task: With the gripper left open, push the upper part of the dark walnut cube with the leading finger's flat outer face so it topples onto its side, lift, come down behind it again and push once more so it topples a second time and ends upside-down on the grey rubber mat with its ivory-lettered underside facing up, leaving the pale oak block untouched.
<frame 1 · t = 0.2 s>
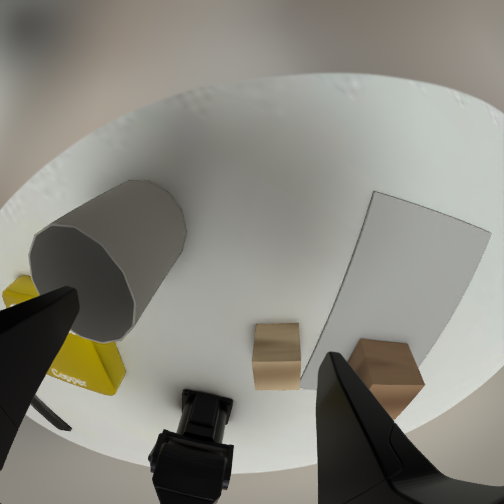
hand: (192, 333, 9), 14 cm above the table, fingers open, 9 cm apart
oak block: (277, 338, 28), on the table
element tile: (70, 325, 31), on the table
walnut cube: (373, 360, 28), resting on rubber mat
cup: (141, 226, 24), on the table
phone: (45, 407, 47), on the table
rubber mat: (394, 320, 26), on the table
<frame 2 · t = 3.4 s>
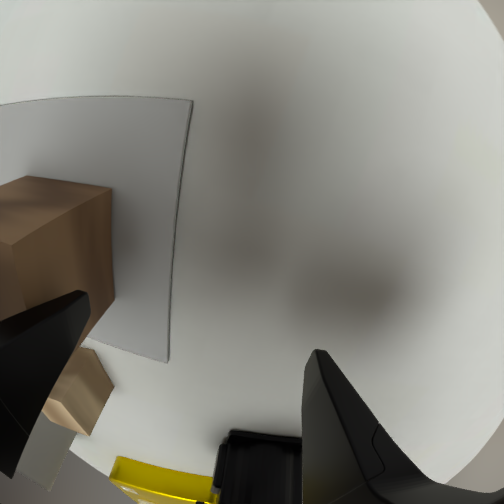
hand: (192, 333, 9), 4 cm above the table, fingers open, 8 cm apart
oak block: (84, 364, 18), on the table
element tile: (178, 481, 30), on the table
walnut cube: (65, 237, 13), resting on rubber mat, touching gripper
cup: (50, 409, 24), on the table
rubber mat: (10, 218, 13), on the table
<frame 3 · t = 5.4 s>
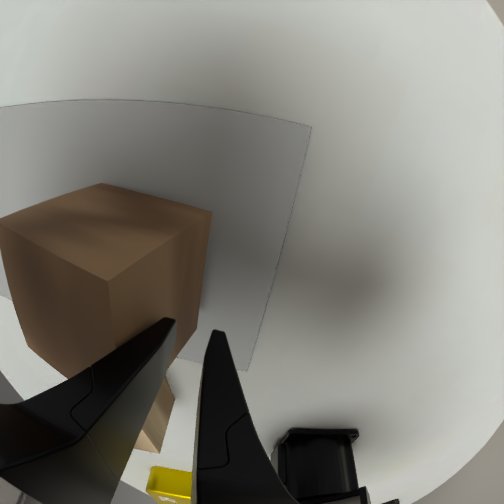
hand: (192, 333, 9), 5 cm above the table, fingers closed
oak block: (143, 380, 18), on the table
element tile: (212, 486, 30), on the table
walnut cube: (146, 256, 13), point 1 cm above the table, tilted 13°, touching gripper, rubber mat
rubber mat: (67, 229, 14), on the table
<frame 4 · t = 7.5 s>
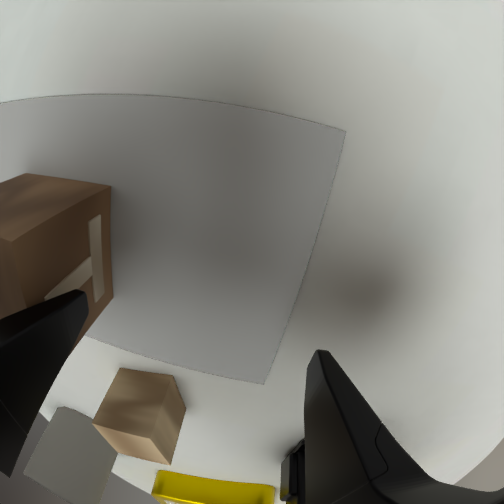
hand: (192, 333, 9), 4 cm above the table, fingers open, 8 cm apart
oak block: (153, 389, 18), on the table
element tile: (218, 489, 30), on the table
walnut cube: (75, 278, 10), point 3 cm above the table, tilted 91°, touching gripper, rubber mat
cup: (88, 427, 24), on the table
rubber mat: (75, 234, 13), on the table
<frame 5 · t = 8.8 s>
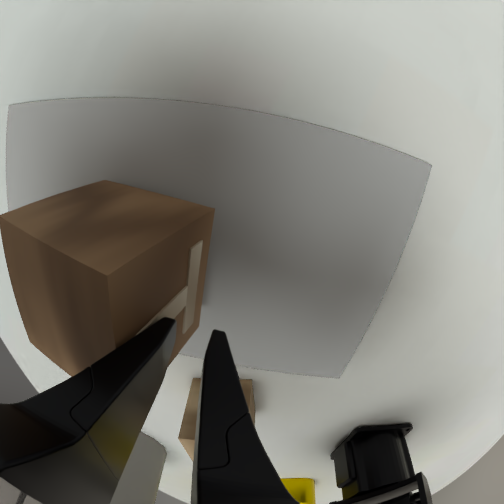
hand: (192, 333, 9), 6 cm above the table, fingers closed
oak block: (225, 395, 19), on the table
element tile: (255, 489, 31), on the table
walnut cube: (169, 311, 10), point 5 cm above the table, tilted 105°, touching gripper, rubber mat
cup: (131, 440, 25), on the table
rubber mat: (167, 247, 14), on the table
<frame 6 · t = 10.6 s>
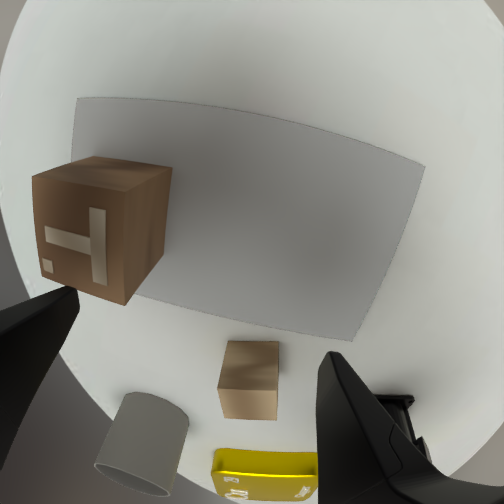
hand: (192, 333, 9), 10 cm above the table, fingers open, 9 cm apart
oak block: (254, 358, 23), on the table
element tile: (267, 466, 35), on the table
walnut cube: (73, 241, 12), point 6 cm above the table, tilted 180°, touching rubber mat
cup: (156, 411, 29), on the table
rubber mat: (220, 223, 18), on the table
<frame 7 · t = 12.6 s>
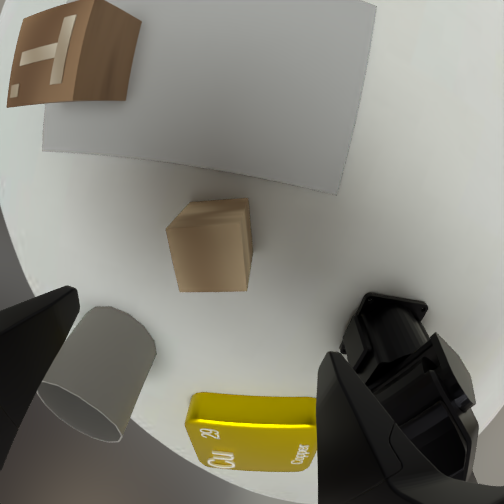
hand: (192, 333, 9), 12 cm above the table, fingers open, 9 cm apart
oak block: (222, 227, 20), on the table
element tile: (256, 423, 32), on the table
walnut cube: (43, 53, 9), point 6 cm above the table, tilted 180°, touching rubber mat
cup: (119, 337, 26), on the table
rubber mat: (182, 60, 15), on the table
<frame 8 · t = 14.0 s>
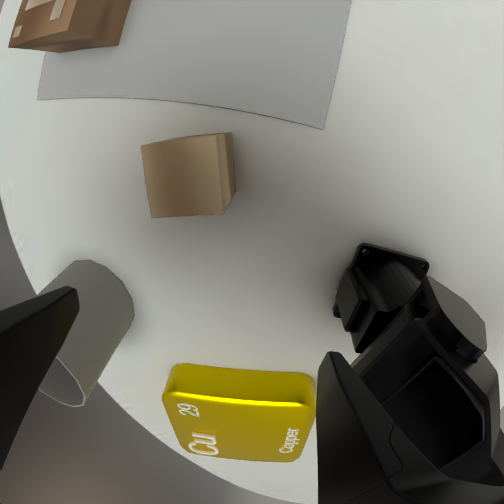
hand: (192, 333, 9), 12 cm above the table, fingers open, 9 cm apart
oak block: (204, 164, 19), on the table
element tile: (242, 405, 30), on the table
cup: (97, 297, 25), on the table
rubber mat: (173, 9, 14), on the table
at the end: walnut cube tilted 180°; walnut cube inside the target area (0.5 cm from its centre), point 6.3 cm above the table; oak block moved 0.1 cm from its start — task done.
